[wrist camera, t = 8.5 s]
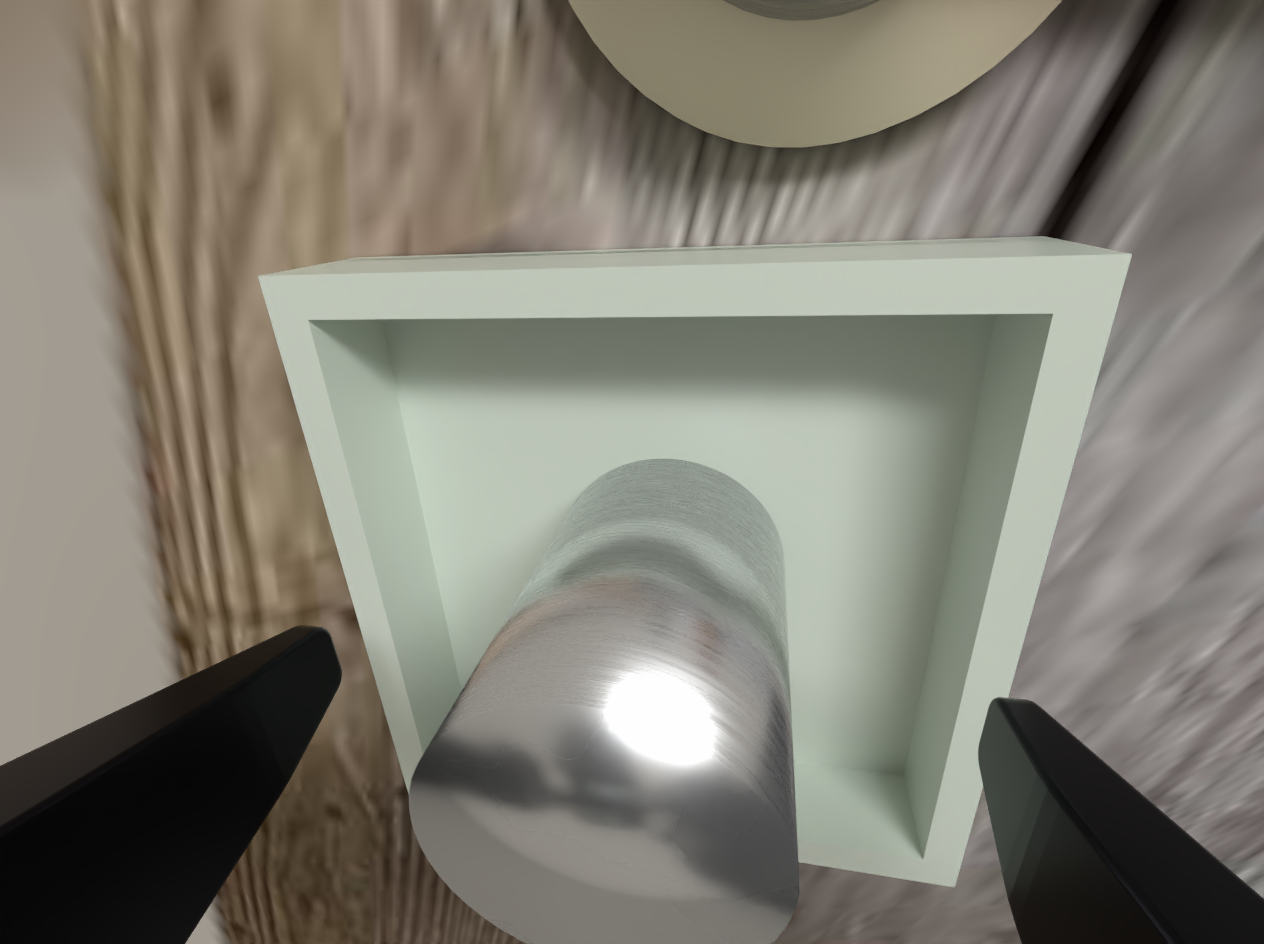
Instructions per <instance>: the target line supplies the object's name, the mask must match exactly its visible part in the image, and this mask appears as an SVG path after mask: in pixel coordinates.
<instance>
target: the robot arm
mask: <svg viewBox="0 0 1264 944" xmlns="http://www.w3.org/2000/svg"><path fill="white" fill-rule="evenodd" d="M341 677H342V670H341V666H340V663H339V659H338V656H337V653H336V650H335V647H334V644H333V641H332V637H331V635H330V633H329V632H328V631H327V630H326V629H325V628H323V627H316V626H306V625H301V626H296V627H293V628H291V629H289V630H287V631H285V632H283V633H281V634H278V635H276V636H274V637H272V638H270V639H268V640H266V641H264V642H262V643H259V644H257V645H255V646H253V647H251V648H249V649H247V650H245V651H242V652H240V653H238V654H236V655H234V656H232V657H230V658H228V659H226V660H223V661H221V662H219V663H217V664H215V665H213V666H211V667H209V668H206V669H204V670H202V671H200V672H198V673H196V674H194V675H192V676H190V677H187V678H185V679H183V680H181V681H179V682H177V683H175V684H173V685H170V686H168V687H166V688H164V689H162V690H160V691H158V692H156V693H154V694H151V695H149V696H147V697H145V698H143V699H141V700H139V701H137V702H134V703H132V704H130V705H128V706H126V707H124V708H122V709H120V710H118V711H115V712H113V713H111V714H109V715H107V716H105V717H103V718H101V719H98V720H96V721H94V722H92V723H90V724H88V725H86V726H84V727H82V728H80V729H77V730H75V731H73V732H71V733H69V734H67V735H65V736H63V737H60V738H58V739H56V740H54V741H52V742H50V743H48V744H46V745H44V746H41V747H39V748H37V749H35V750H33V751H31V752H29V753H27V754H24V755H22V756H20V757H18V758H16V759H14V760H12V761H10V762H7V763H5V764H3V765H1V766H0V944H185V943H186V941H187V940H188V938H189V937H190V935H191V934H192V932H193V931H194V929H195V927H196V926H197V924H198V923H199V921H200V919H201V918H202V917H203V915H204V913H205V912H206V910H207V909H208V907H209V906H210V904H211V903H212V901H213V899H214V898H215V896H216V895H217V893H218V892H219V890H220V889H221V887H222V885H223V884H224V882H225V881H226V879H227V878H228V876H229V875H230V873H231V871H232V870H233V868H234V867H235V865H236V864H237V862H238V861H239V859H240V857H241V856H242V854H243V853H244V851H245V850H246V848H247V847H248V845H249V844H250V842H251V840H252V839H253V837H254V836H255V834H256V833H257V831H258V830H259V828H260V826H261V825H262V823H263V822H264V820H265V819H266V817H267V816H268V814H269V812H270V811H271V809H272V808H273V806H274V805H275V803H276V802H277V800H278V798H279V797H280V795H281V793H282V792H283V790H284V789H285V787H286V785H287V784H288V782H289V780H290V778H291V776H292V775H293V773H294V771H295V769H296V767H297V766H298V764H299V762H300V760H301V758H302V756H303V754H304V752H305V750H306V748H307V747H308V745H309V743H310V741H311V739H312V737H313V735H314V733H315V731H316V729H317V728H318V726H319V724H320V722H321V720H322V718H323V716H324V714H325V712H326V710H327V709H328V707H329V705H330V703H331V701H332V699H333V697H334V695H335V693H336V691H337V690H338V687H339V685H340V682H341ZM978 762H979V768H980V773H981V778H982V782H983V787H984V792H985V796H986V801H987V805H988V810H989V815H990V819H991V824H992V829H993V833H994V838H995V843H996V847H997V852H998V857H999V861H1000V866H1001V871H1002V875H1003V880H1004V884H1005V888H1006V892H1007V896H1008V901H1009V904H1010V907H1011V911H1012V914H1013V917H1014V921H1015V924H1016V927H1017V930H1018V933H1019V936H1020V940H1021V943H1022V944H1264V899H1263V898H1262V897H1261V896H1260V895H1259V894H1258V893H1256V892H1255V891H1254V890H1253V889H1252V888H1251V887H1249V886H1248V885H1247V884H1246V883H1245V882H1244V881H1242V880H1241V879H1240V878H1239V877H1238V876H1237V875H1235V874H1234V873H1233V872H1232V871H1231V870H1230V869H1228V868H1227V867H1226V866H1225V865H1224V864H1223V863H1221V862H1220V861H1219V860H1218V859H1217V858H1216V857H1214V856H1213V855H1212V854H1211V853H1210V852H1209V851H1207V850H1206V849H1205V848H1204V847H1203V846H1202V845H1200V844H1199V843H1198V842H1197V841H1196V840H1195V839H1193V838H1192V837H1191V836H1190V835H1189V834H1188V833H1186V832H1185V831H1184V830H1183V829H1182V828H1181V827H1179V826H1178V825H1177V824H1176V823H1175V822H1174V821H1172V820H1171V819H1170V818H1169V817H1168V816H1167V815H1165V814H1164V813H1163V812H1162V811H1161V810H1160V809H1158V808H1157V807H1156V806H1155V805H1154V804H1153V803H1151V802H1150V801H1149V800H1148V799H1147V798H1146V797H1145V796H1143V795H1142V794H1141V793H1140V792H1139V791H1138V790H1136V789H1135V788H1134V787H1133V786H1132V785H1131V784H1129V783H1128V782H1127V781H1126V780H1125V779H1124V778H1122V777H1121V776H1120V775H1119V774H1118V773H1117V772H1115V771H1114V770H1113V769H1112V768H1111V767H1110V766H1108V765H1107V764H1106V763H1105V762H1104V761H1103V760H1101V759H1100V758H1099V757H1098V756H1097V755H1096V754H1094V753H1093V752H1092V751H1091V750H1090V749H1089V748H1087V747H1086V746H1085V745H1084V744H1083V743H1082V742H1080V741H1079V740H1078V739H1077V738H1076V737H1075V736H1073V735H1072V734H1071V733H1070V732H1069V731H1068V730H1066V729H1065V728H1064V727H1063V726H1062V725H1061V724H1059V723H1058V722H1057V721H1056V720H1055V719H1054V718H1052V717H1051V716H1050V715H1049V714H1048V713H1047V712H1045V711H1044V710H1043V709H1042V708H1041V707H1040V706H1038V705H1037V704H1035V703H1034V702H1032V701H1029V700H1024V699H1014V698H1005V697H997V698H994V699H993V700H992V701H991V703H990V705H989V708H988V711H987V715H986V719H985V723H984V727H983V730H982V734H981V738H980V742H979V746H978Z"/></svg>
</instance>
